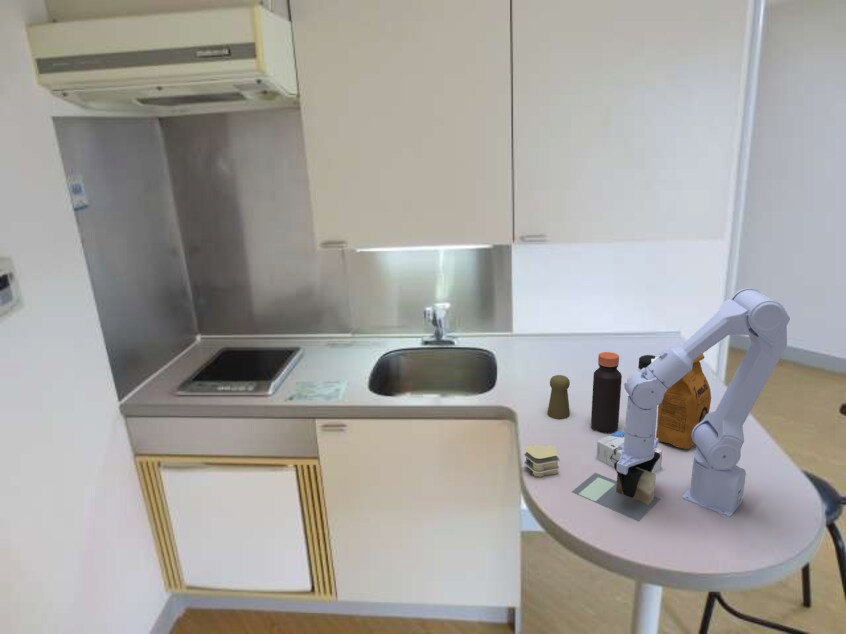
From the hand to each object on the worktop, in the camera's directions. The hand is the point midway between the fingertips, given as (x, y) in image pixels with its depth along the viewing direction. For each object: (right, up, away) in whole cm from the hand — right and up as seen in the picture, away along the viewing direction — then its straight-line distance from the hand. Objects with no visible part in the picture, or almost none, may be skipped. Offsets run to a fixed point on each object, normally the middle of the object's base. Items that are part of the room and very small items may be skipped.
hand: (635, 489), depth 124 cm
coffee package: (+20, +6, +23) cm, 31 cm away
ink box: (0, +6, +17) cm, 18 cm away
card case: (0, -1, 0) cm, 2 cm away
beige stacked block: (-17, 0, +11) cm, 21 cm away
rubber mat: (-4, -2, +1) cm, 4 cm away
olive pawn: (-7, +9, +38) cm, 40 cm away
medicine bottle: (+20, +13, +47) cm, 52 cm away
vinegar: (+3, +7, +30) cm, 31 cm away
